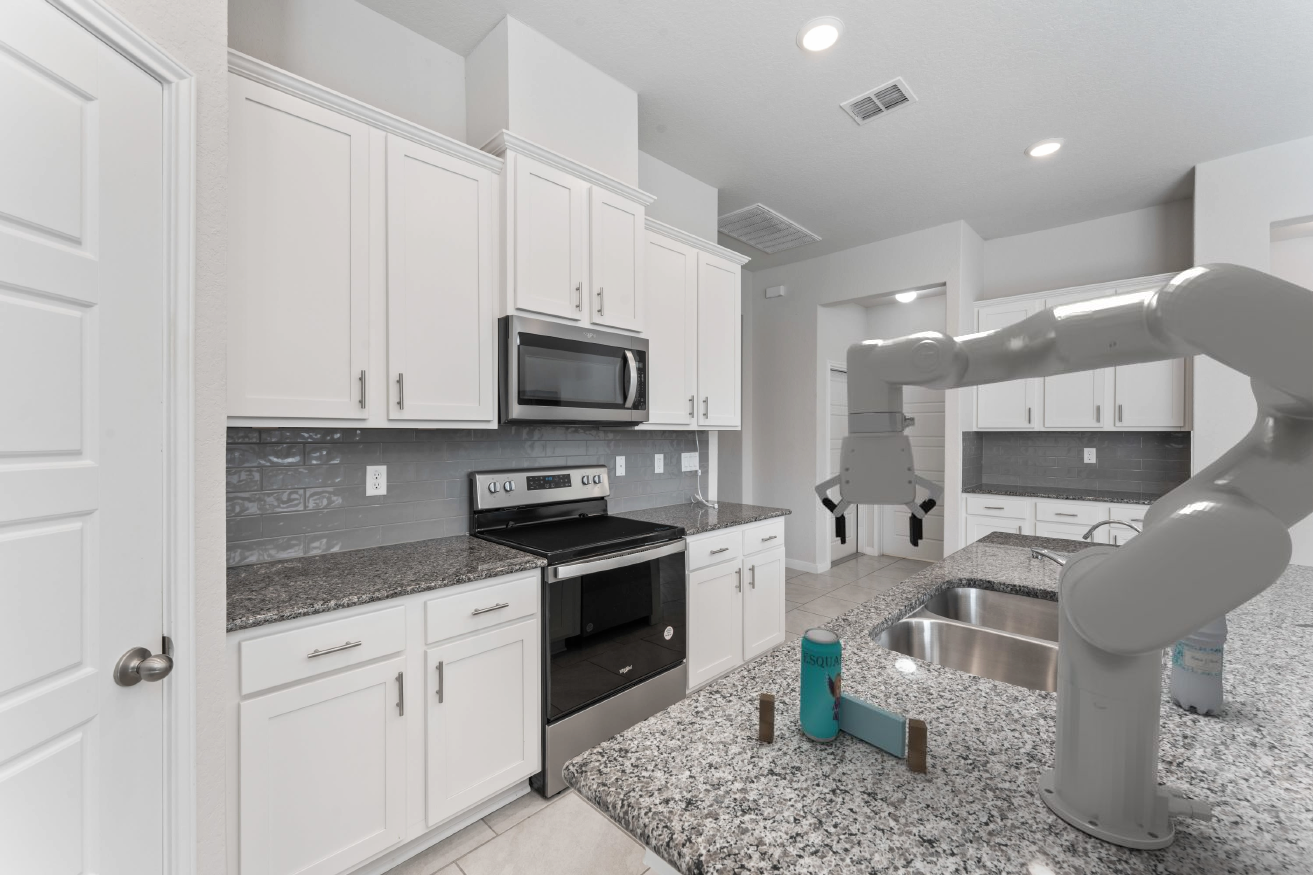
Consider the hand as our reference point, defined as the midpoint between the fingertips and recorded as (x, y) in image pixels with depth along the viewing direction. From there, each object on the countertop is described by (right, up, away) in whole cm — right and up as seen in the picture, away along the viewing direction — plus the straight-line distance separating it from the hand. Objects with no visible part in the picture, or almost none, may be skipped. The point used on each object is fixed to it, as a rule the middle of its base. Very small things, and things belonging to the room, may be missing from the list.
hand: (878, 543), depth 80 cm
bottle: (+56, -29, +10) cm, 64 cm away
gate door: (-3, -28, +2) cm, 28 cm away
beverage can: (-8, -29, +2) cm, 30 cm away
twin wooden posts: (-7, -29, -3) cm, 30 cm away
